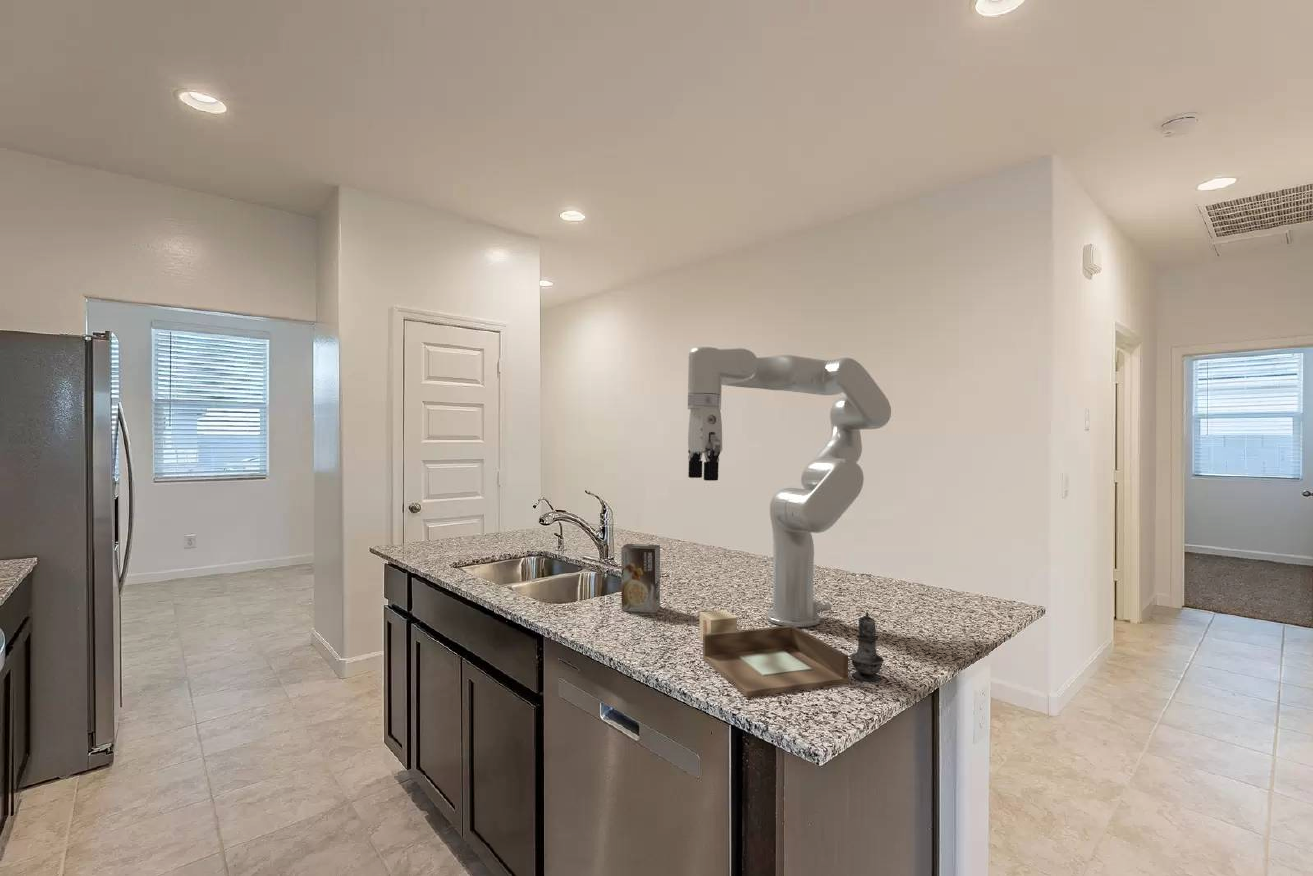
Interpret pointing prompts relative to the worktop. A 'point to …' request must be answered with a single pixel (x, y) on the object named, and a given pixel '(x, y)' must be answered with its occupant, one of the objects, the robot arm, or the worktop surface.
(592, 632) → the worktop surface
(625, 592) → the coffee box
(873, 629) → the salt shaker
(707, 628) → the maple cube
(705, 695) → the worktop surface
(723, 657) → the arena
